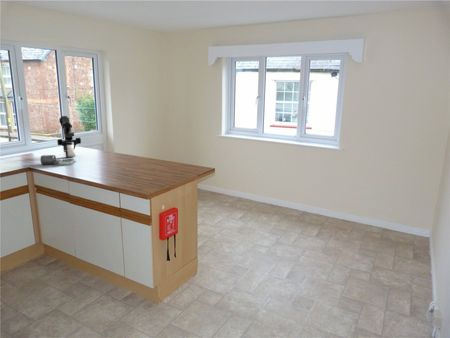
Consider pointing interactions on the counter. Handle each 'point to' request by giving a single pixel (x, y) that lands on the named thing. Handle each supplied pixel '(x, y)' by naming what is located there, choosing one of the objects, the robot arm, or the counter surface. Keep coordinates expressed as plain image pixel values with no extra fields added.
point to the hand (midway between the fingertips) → (70, 149)
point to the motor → (52, 160)
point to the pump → (70, 151)
